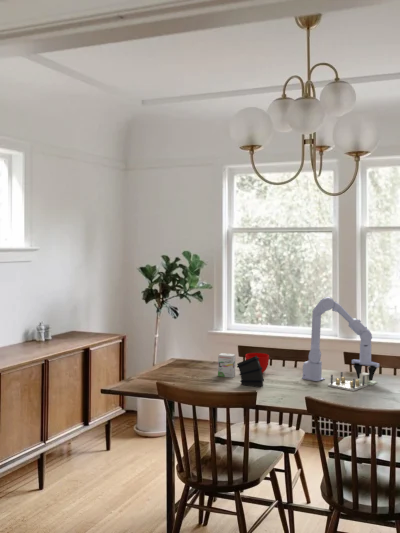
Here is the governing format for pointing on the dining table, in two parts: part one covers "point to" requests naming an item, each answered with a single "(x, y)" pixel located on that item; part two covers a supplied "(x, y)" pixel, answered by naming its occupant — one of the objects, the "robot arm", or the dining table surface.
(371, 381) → the sage board
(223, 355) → the ink box
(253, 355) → the ceramic cup
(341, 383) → the plate
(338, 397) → the dining table surface
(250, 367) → the magazine
